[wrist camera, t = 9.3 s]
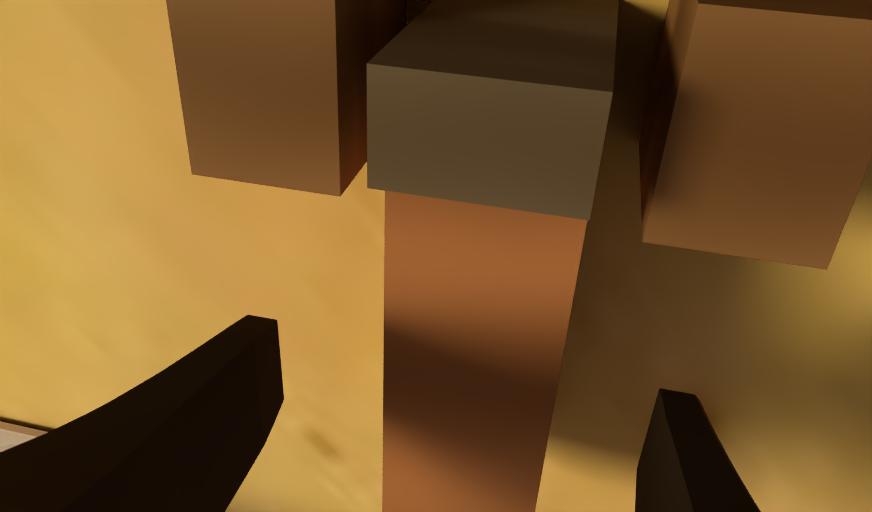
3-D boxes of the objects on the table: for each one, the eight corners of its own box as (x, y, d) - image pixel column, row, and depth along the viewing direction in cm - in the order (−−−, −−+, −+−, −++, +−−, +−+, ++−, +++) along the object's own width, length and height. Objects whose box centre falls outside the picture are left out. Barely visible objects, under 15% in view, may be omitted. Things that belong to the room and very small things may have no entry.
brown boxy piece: (545, 421, 21) (519, 608, 16) (429, 398, 22) (369, 572, 17) (619, -2, 15) (613, 92, 10) (452, -18, 15) (366, 63, 10)
